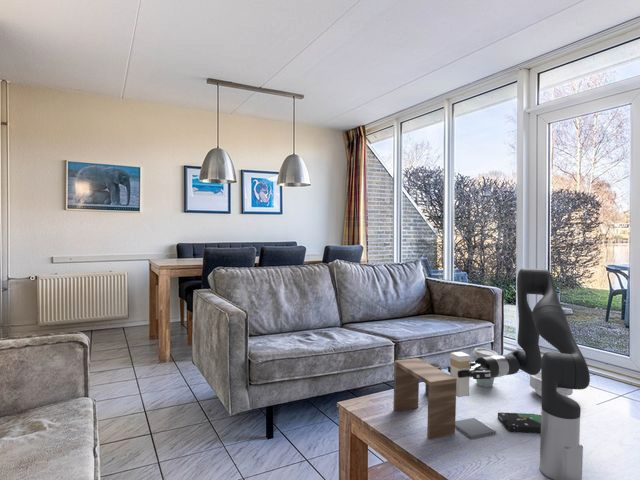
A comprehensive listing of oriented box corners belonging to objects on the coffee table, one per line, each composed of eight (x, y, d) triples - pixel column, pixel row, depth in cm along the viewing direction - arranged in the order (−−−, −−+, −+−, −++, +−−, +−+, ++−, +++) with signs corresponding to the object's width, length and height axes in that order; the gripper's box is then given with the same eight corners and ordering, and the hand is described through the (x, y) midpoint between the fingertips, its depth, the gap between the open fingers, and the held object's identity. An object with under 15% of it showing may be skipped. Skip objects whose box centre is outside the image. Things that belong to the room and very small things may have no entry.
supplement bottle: (421, 392, 167) (422, 363, 166) (436, 390, 169) (437, 362, 168) (431, 399, 160) (432, 369, 160) (446, 397, 162) (446, 367, 162)
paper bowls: (564, 390, 171) (565, 372, 170) (578, 406, 156) (579, 385, 156) (525, 386, 174) (525, 368, 174) (534, 401, 160) (535, 381, 159)
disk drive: (509, 434, 134) (555, 435, 134) (509, 426, 134) (555, 427, 134) (497, 419, 145) (539, 420, 144) (497, 412, 145) (539, 413, 144)
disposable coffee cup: (493, 380, 181) (494, 347, 180) (501, 390, 170) (502, 354, 170) (469, 379, 182) (470, 346, 182) (475, 388, 171) (476, 353, 171)
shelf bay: (455, 434, 133) (456, 378, 132) (429, 439, 129) (430, 382, 129) (416, 406, 153) (417, 358, 153) (393, 410, 150) (394, 360, 149)
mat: (495, 433, 133) (495, 431, 133) (471, 438, 130) (471, 436, 130) (473, 419, 143) (474, 417, 143) (450, 424, 139) (450, 422, 139)
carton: (469, 395, 140) (470, 355, 140) (458, 397, 138) (459, 356, 138) (460, 390, 144) (460, 351, 144) (449, 392, 142) (450, 352, 142)
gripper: (477, 350, 153) (440, 355, 146) (508, 362, 139) (468, 367, 133) (477, 370, 153) (440, 375, 147) (507, 384, 139) (467, 390, 133)
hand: (453, 371), depth 140 cm, fingers closed on carton, 4 cm apart
